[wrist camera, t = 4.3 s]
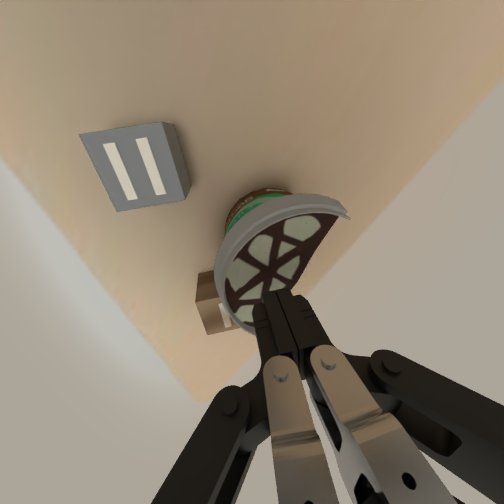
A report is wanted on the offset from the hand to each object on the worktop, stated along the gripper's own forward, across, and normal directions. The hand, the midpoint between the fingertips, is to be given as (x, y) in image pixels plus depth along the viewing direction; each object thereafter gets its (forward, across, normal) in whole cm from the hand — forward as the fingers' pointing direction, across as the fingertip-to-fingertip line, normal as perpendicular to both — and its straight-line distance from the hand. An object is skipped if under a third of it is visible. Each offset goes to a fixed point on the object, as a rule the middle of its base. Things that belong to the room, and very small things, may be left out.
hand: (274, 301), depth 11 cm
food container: (+13, 0, 0) cm, 13 cm away
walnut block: (+13, +4, +8) cm, 16 cm away
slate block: (+13, +7, -7) cm, 16 cm away
